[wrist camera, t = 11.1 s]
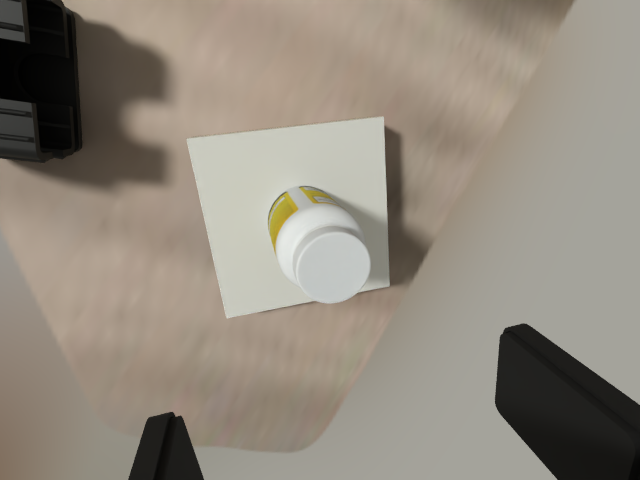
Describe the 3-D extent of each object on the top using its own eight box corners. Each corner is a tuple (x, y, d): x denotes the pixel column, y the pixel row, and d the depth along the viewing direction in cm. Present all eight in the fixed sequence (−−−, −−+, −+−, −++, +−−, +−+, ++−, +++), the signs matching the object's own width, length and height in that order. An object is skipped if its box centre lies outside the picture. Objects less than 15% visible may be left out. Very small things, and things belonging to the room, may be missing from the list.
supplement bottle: (279, 261, 27) (297, 329, 18) (257, 196, 25) (265, 237, 16) (343, 240, 28) (392, 296, 19) (327, 175, 26) (372, 202, 17)
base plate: (192, 136, 26) (186, 138, 23) (369, 117, 28) (383, 116, 26) (227, 300, 31) (226, 318, 28) (377, 272, 33) (389, 286, 30)
